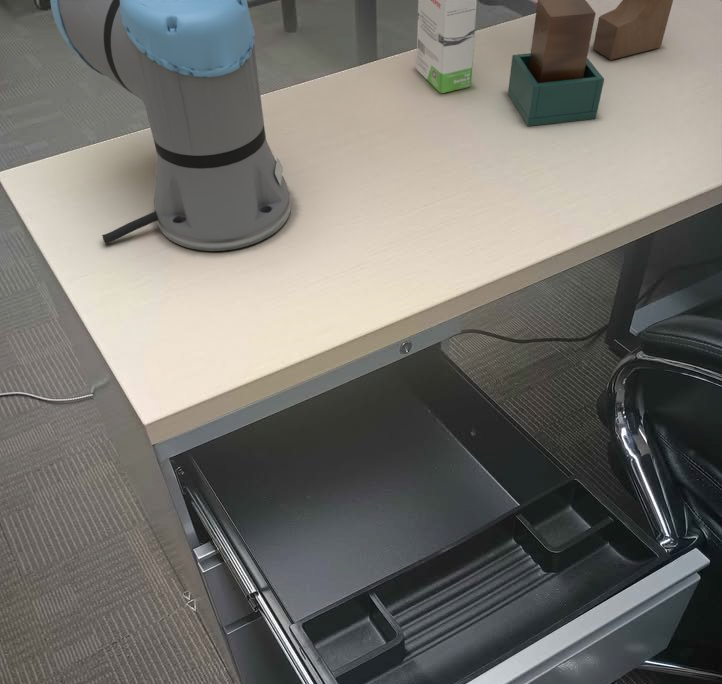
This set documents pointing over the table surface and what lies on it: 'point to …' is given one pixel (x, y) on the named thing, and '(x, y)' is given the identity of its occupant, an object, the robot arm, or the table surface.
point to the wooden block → (632, 28)
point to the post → (561, 40)
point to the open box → (554, 94)
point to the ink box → (446, 42)
